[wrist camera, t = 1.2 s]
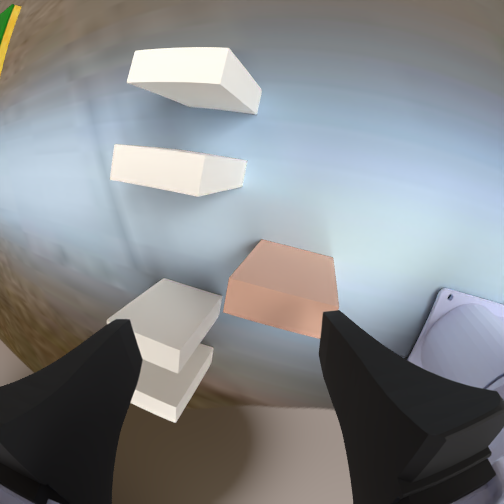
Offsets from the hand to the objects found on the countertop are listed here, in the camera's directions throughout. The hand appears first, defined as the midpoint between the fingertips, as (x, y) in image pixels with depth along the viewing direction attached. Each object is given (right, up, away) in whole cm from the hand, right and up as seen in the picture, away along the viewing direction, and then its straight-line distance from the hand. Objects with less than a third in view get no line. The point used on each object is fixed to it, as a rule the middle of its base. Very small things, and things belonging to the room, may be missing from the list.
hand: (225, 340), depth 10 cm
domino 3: (-4, 0, +12) cm, 13 cm away
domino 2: (-2, +9, +9) cm, 13 cm away
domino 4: (-5, -5, +14) cm, 15 cm away
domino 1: (-1, +14, +8) cm, 16 cm away
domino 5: (+4, +3, +10) cm, 11 cm away
